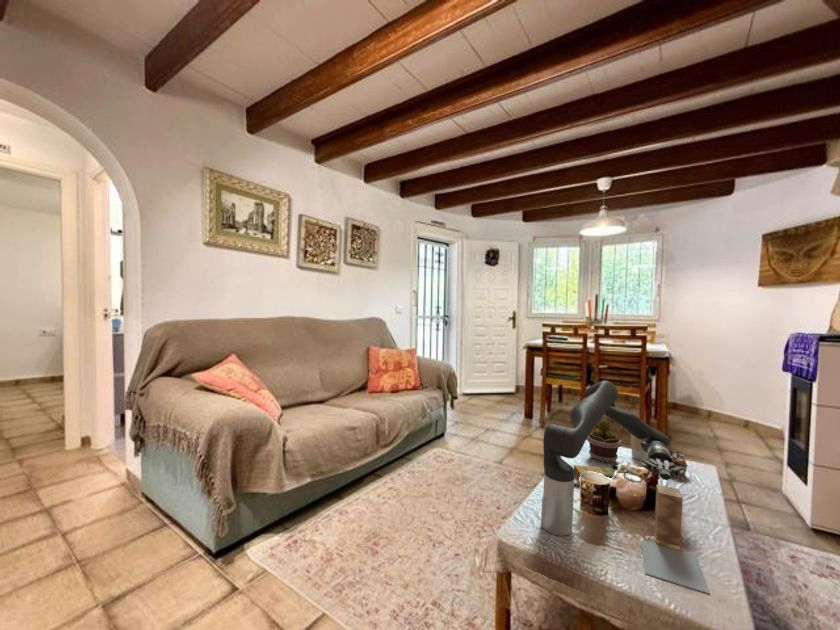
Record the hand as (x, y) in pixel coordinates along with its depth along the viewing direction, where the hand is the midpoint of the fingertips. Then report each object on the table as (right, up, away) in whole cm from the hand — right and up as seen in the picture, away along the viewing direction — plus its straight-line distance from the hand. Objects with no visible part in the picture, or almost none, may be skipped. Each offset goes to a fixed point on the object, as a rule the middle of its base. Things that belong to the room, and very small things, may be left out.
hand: (665, 477), depth 122 cm
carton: (-7, -16, +33) cm, 37 cm away
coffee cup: (+26, -16, +57) cm, 65 cm away
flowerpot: (+6, -15, +53) cm, 56 cm away
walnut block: (-5, -17, -8) cm, 19 cm away
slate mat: (-10, -17, -18) cm, 27 cm away
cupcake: (+31, -16, +40) cm, 53 cm away
